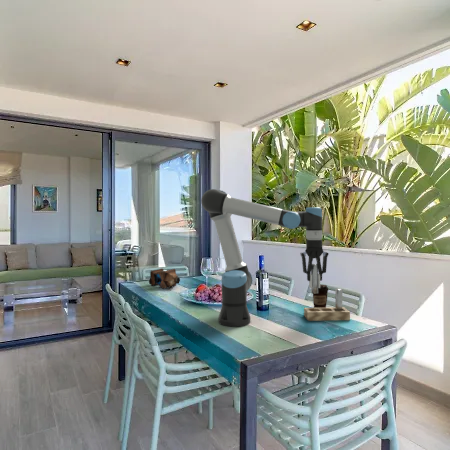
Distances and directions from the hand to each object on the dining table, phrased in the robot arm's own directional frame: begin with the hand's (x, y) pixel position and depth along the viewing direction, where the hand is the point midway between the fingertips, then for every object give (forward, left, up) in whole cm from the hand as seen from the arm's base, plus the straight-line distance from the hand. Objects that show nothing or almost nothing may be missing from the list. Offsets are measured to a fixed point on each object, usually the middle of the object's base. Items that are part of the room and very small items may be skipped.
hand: (314, 287), depth 167 cm
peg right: (+12, 0, -15) cm, 19 cm away
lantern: (-84, +77, -15) cm, 115 cm away
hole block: (+6, 0, -15) cm, 16 cm away
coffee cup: (+7, +14, -15) cm, 22 cm away
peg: (0, 0, -3) cm, 3 cm away
